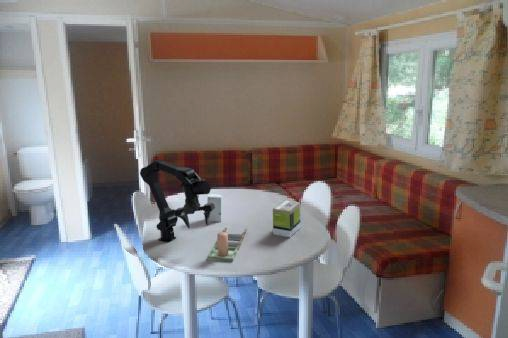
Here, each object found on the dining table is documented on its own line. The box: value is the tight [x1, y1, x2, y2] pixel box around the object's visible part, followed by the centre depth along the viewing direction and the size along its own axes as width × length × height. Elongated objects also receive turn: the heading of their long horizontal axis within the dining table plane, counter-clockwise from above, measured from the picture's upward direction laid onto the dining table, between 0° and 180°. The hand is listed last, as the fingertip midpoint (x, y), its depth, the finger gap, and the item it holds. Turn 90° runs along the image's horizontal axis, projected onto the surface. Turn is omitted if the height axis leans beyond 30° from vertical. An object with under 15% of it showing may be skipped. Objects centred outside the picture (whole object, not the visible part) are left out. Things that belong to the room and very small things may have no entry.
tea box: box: [272, 199, 302, 238], centre depth 202 cm, size 15×10×15 cm, turn 152°
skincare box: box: [206, 193, 224, 223], centre depth 219 cm, size 8×6×15 cm
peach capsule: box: [216, 231, 229, 257], centre depth 176 cm, size 5×5×10 cm
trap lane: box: [207, 227, 248, 263], centre depth 189 cm, size 36×12×1 cm, turn 171°
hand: (198, 226), depth 182 cm, fingers open, 9 cm apart
